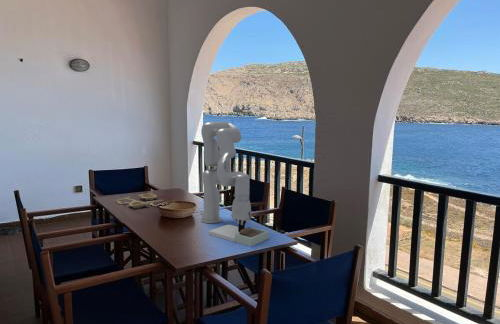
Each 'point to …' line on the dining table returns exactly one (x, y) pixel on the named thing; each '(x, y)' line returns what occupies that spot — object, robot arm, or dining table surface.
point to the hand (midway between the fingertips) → (241, 231)
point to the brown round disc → (248, 232)
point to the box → (254, 240)
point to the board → (225, 232)
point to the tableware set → (140, 204)
